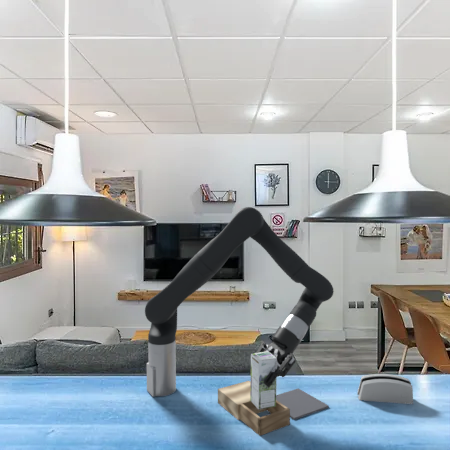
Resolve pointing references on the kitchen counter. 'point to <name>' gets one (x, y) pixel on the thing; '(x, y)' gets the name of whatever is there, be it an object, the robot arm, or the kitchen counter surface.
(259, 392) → the syrup box
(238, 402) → the wooden drawer box
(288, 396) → the mat
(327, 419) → the kitchen counter surface
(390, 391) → the grey arched block
